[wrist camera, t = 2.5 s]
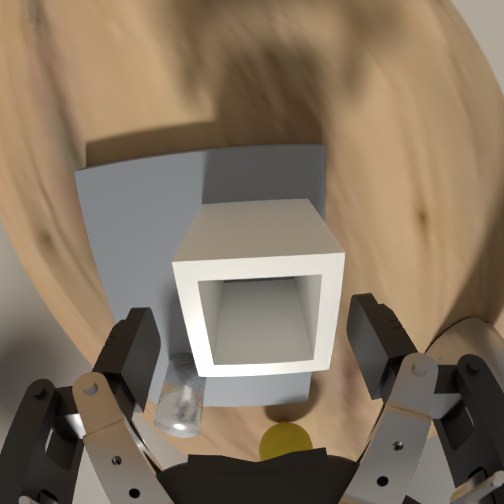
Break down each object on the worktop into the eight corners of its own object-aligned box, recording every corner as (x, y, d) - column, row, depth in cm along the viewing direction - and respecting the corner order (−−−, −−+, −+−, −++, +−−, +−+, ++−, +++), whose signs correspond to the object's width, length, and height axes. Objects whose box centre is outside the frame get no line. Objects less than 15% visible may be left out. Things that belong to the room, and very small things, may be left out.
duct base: (319, 143, 16) (325, 146, 15) (305, 390, 26) (307, 402, 24) (85, 167, 16) (74, 171, 15) (155, 391, 26) (152, 403, 24)
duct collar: (307, 198, 16) (345, 252, 10) (305, 288, 19) (328, 369, 12) (201, 204, 16) (171, 261, 10) (213, 293, 19) (199, 376, 12)
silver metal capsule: (204, 352, 21) (194, 416, 16) (210, 378, 22) (203, 438, 17) (165, 351, 21) (147, 413, 16) (174, 377, 23) (161, 435, 17)
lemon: (262, 434, 30) (264, 492, 22) (254, 412, 27) (256, 478, 20) (308, 428, 29) (317, 485, 22) (307, 405, 27) (317, 470, 20)
